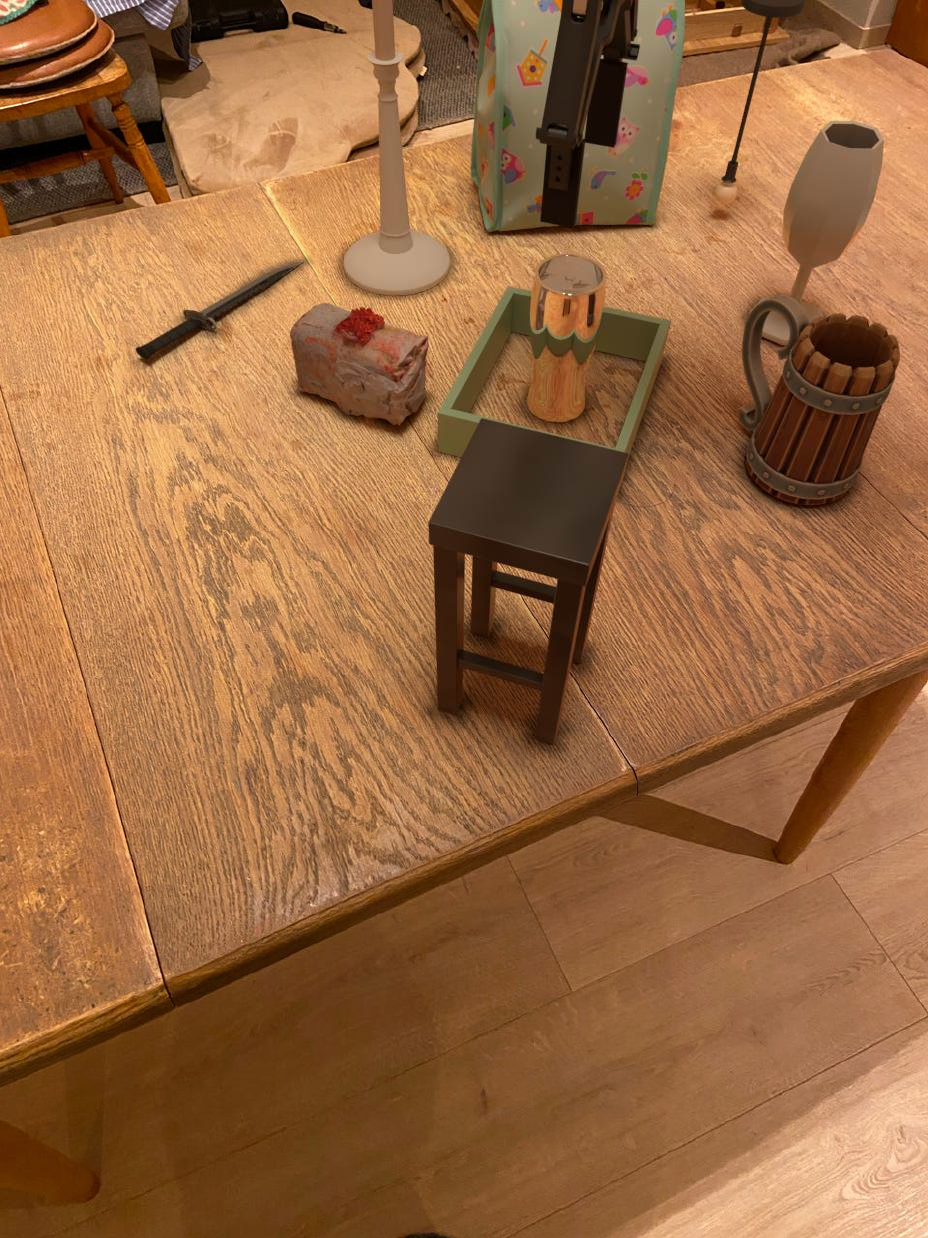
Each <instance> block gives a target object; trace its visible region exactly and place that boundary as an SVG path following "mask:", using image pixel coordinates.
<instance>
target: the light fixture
mask: <svg viewBox="0 0 928 1238" xmlns="http://www.w3.org/2000/svg"><path fill="white" fill-rule="evenodd" d="M807 1H808V0H740V4H741V7H742V8H744V10H746V11H748V12H750V13H752V14H753V15H757V16H761V17H765V21H764V25H763V27H764V29H763V32H762V35H761V36H762V37H761V40H760V43H759V48H758V53H757V56H756V60H755V64H754V69H753V71H752V77H751V81H750V85H749V88H748V93H747V97H746V101H745V105H744V110H743V113H742V116H741V117H742V118H741V122H740V126H739V129H738V132H737V133H738V134H737V137H736V141H735V145H734V150H733V153H732V155H731V160H729V161H727V166H726V169H725V172H724V173H725V174H724V175H723V176H722V177H721V181H722V182H720V183H719V184H718V185H717V186H716V188H715V191H714V197H715V199H716V201H717V202H718V203H720V204H723V205H728V204H730V203H732V202H733V201H734V200H735V199H736V198H737V195H738V188H737V185H736V184H735V183H736V182H737V178H736V175H737V171H738V169H739V168H738V167H739V162H738V156H739V151H740V147H741V144H742V143H741V142H742V139H743V135H744V131H745V127H746V123H747V118H748V115H749V112H750V106H751V102H752V99H753V95H754V91H755V87H756V83H757V79H758V75H759V71H760V67H761V64H762V59H763V55H764V51H765V47H766V43H767V40H768V39H767V38H768V35H769V31H770V28H771V26H772V23H773V19H785V18H792V17H796V16H798V15H801V14H802V13H803V12H804V10H805V8H806V4H807Z"/></svg>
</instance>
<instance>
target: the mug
mask: <svg viewBox="0 0 928 1238" xmlns="http://www.w3.org/2000/svg"><path fill="white" fill-rule="evenodd" d="M770 297H771V298H769V299H767V300H765V301H763V302H760V303H759V304H758V305H756V304H755V305H754V306H753V307H752V309H753V310H752V309H751V310H752V311H751V310H750V311H751V313H750V314H749V313H748V316H747V318H746V321H745V324H744V329H743V334H742V342H741V362H742V368H743V372H744V376H745V379H746V383H747V385H748V389H749V392H750V394H751V397H752V401H753V402H754V404H753V403H752V402H748V403H746V404H744V405H741V406H740V407H739V408H738V415H737V416H738V418H739V422H740V424H741V425H742V426H743V428H745V429H746V430H747V431H751V432H752V434H751V436H750V438H749V441H748V443H747V447H746V452H745V453H746V454H745V459H746V461H745V466H746V470H747V471H748V473H749V476H750V477H751V478H752V479H753V480H754V482H755V483H756V484H757V485H758V486H759V487H760V488H761V489H762V490H763V491H765V492H766V493H768V494H770V495H771V496H773V497H774V498H777V499H779V500H781V501H783V502H787V503H791V504H795V505H804V506H817V505H824V504H827V503H832V502H835V501H836V500H839V499H841V498H842V497H844V496H845V495H846V494H847V491H849V490H850V489H851V487H852V486H853V485H854V483H856V480H857V478H858V476H859V473H860V471H861V468H862V466H863V461H864V454H865V452H866V449H867V447H868V444H869V441H870V439H871V436H872V433H873V431H874V428H875V426H876V423H877V420H878V418H879V416H880V413H881V411H882V408H883V405H884V404H885V403H886V401H887V399H888V397H889V396H890V392H891V390H892V387H893V386H894V385H893V384H894V383H895V380H896V371H897V370H898V369H897V368H898V366H899V364H900V360H901V351H900V344H899V343H900V342H899V341H898V338H897V337H896V336H895V335H893V334H889V331H888V329H887V327H886V326H884V325H883V324H881V323H879V322H873V323H872V324H870V322H869V321H870V320H869V319H868V318H867V317H865V316H862V315H858V314H853V315H851V316H850V317H849V318H847V316H846V314H844V313H841V312H840V313H839V312H836V313H832V314H830V315H829V316H824V317H821V316H820V317H818V318H816V319H814V320H813V321H812V322H811V323H809V318H808V316H807V313H806V311H805V310H804V308H803V306H802V305H801V304H800V303H799V302H798V301H797V300H795V299H794V298H792V297H790V295H787V294H784V293H783V294H776V295H774V296H770ZM771 311H775V312H777V313H779V314H780V315H782V316H783V317H784V318H785V320H786V321H787V323H788V326H789V330H790V336H789V341H788V343H787V345H783V346H782V347H780V348H778V349H777V350H776V353H777V355H778V356H777V357H778V361H784V360H785V362H784V364H783V368H782V373H781V375H780V377H779V380H778V381H777V384H776V386H775V389H774V391H773V392H772V390H771V388H770V384H769V381H768V379H767V377H766V373H765V369H764V366H763V365H764V364H763V361H762V353H761V351H762V350H761V346H762V338H763V337H762V332H763V327H764V323H765V320H766V318H767V316H768V315H769V313H770V312H771Z"/></svg>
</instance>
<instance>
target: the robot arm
mask: <svg viewBox="0 0 928 1238" xmlns="http://www.w3.org/2000/svg"><path fill="white" fill-rule="evenodd" d="M638 1H639V0H562V9H561V18H560V24H559V29H558V35H557V41H556V47H555V52H554V58H553V64H552V69H551V75H550V81H549V86H548V92H547V98H546V103H545V109H544V115H543V120H542V126H541V128H538V127H537V128H536V139H538V140H539V141H540V143H541V144H547V147H546V159H545V171H544V182H543V194H542V206H541V218H540V222H545V223H550V224H555V225H560V226H561V227H565V228H569V229H570V228H571V229H574V227H575V226H576V225H575V223H576V216H577V207H578V199H579V191H580V182H581V174H582V165H583V157H584V148H585V143H590V144H596V145H601V146H607V147H612V148H614V147H615V145H616V141H617V134H618V127H619V120H620V113H621V107H622V100H623V93H624V86H625V79H626V72H627V65H628V63H626V62H622V60H623V59H629V60H635V61H636V60H637V58H638V54H639V49H640V45H639V44H633V43H631V41H632V42H633V41H634V39H635V37H636V36H637V31H638V30H637V18H638ZM601 55H604V56H603V59H601ZM586 118H587V121H586ZM585 122H586V130H585V138H584V139H583V130H584V126H585ZM560 226H559V227H560Z"/></svg>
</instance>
